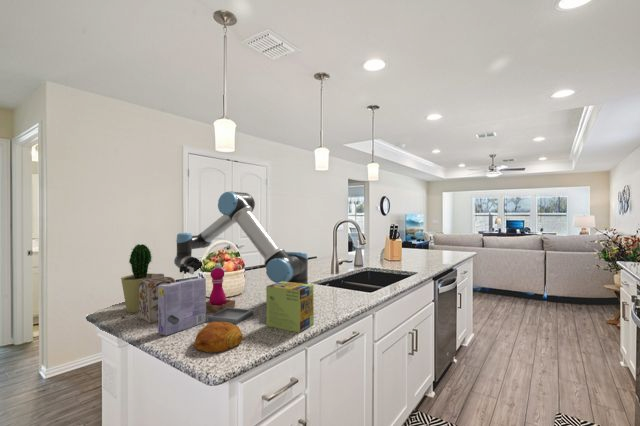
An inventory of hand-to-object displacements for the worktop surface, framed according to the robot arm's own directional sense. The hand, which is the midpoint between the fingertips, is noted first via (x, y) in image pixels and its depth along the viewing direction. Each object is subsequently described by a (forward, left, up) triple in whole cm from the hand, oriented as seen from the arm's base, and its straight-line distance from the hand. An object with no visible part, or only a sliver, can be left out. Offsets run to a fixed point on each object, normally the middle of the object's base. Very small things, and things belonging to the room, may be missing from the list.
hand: (207, 269), depth 156 cm
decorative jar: (+8, +22, -17) cm, 29 cm away
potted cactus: (+25, +15, -17) cm, 33 cm away
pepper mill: (-9, +5, -17) cm, 20 cm away
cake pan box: (-12, +29, -17) cm, 36 cm away
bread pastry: (-33, +39, -17) cm, 54 cm away
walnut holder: (-9, +5, -17) cm, 20 cm away
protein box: (-49, +15, -17) cm, 54 cm away
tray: (-22, +14, -17) cm, 31 cm away
